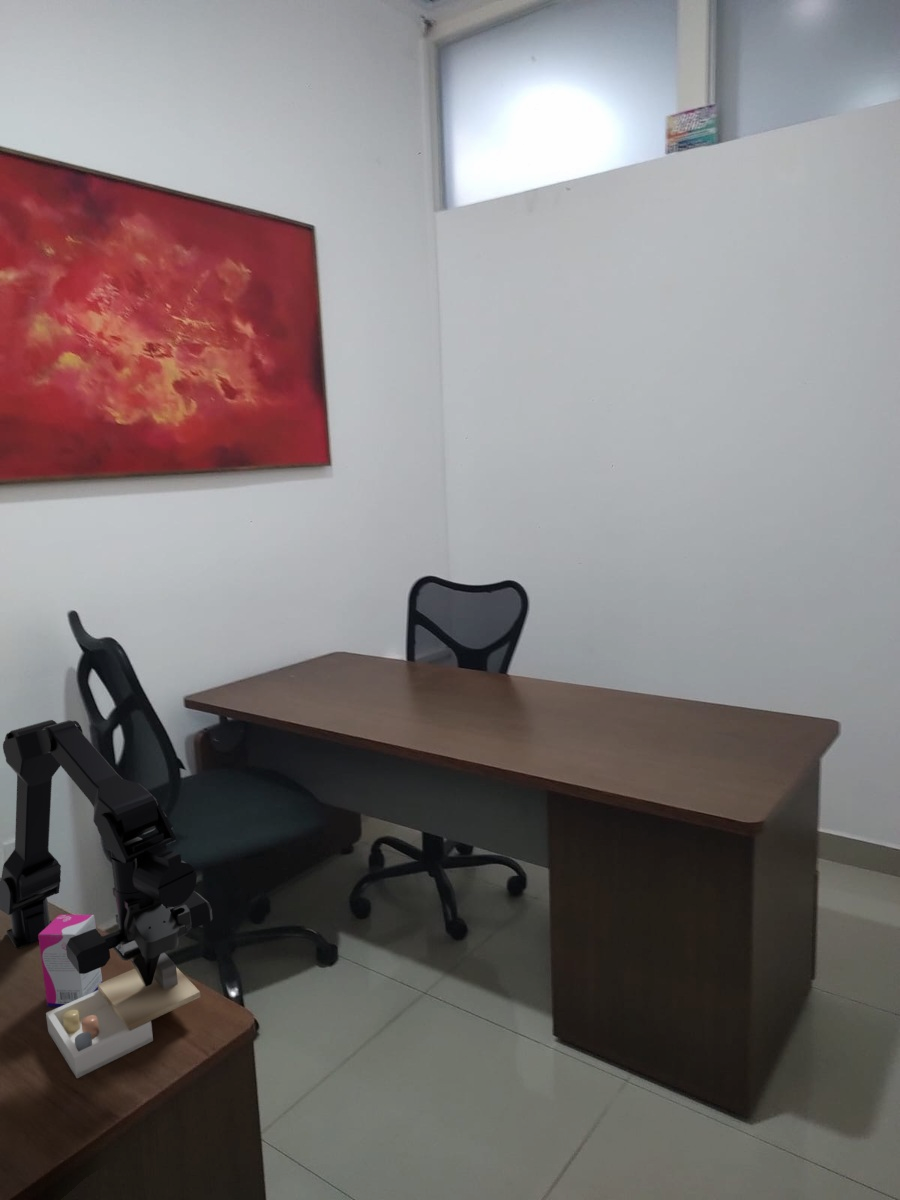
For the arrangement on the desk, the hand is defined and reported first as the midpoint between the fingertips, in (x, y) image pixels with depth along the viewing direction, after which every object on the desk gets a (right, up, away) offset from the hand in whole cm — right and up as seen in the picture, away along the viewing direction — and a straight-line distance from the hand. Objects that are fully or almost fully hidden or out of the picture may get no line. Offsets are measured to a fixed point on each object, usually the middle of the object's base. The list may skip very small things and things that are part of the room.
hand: (147, 984), depth 119 cm
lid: (0, -1, 0) cm, 1 cm away
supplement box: (-13, -4, +6) cm, 15 cm away
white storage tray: (-5, -5, -4) cm, 8 cm away
